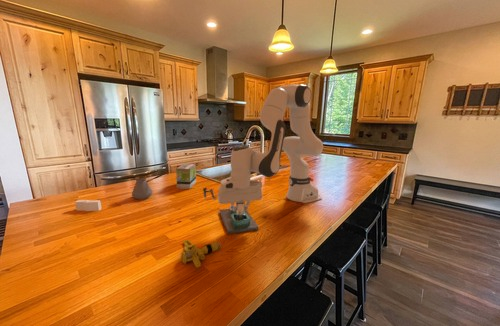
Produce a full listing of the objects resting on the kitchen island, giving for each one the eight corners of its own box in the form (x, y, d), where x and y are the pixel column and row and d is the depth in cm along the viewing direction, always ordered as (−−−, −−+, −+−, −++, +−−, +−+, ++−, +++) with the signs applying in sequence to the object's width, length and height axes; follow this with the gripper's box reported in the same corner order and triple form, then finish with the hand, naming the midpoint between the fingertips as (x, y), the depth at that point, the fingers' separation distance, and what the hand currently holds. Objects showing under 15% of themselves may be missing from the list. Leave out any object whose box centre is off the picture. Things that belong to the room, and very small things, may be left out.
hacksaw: (203, 189, 144) (203, 187, 144) (218, 188, 147) (218, 186, 146) (204, 203, 121) (204, 200, 121) (222, 201, 124) (222, 199, 124)
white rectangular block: (108, 209, 111) (106, 199, 110) (83, 217, 101) (81, 207, 100) (94, 203, 118) (92, 194, 117) (69, 210, 108) (68, 200, 107)
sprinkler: (230, 248, 72) (188, 264, 64) (230, 258, 73) (189, 276, 64) (206, 230, 88) (171, 241, 79) (207, 239, 88) (171, 251, 80)
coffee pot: (130, 201, 120) (127, 177, 116) (133, 195, 130) (131, 172, 127) (169, 197, 127) (167, 174, 124) (169, 191, 138) (168, 169, 134)
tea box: (190, 189, 143) (189, 168, 140) (176, 188, 143) (175, 168, 140) (196, 182, 158) (195, 163, 154) (183, 182, 158) (182, 163, 155)
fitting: (242, 216, 98) (243, 197, 96) (245, 220, 94) (245, 200, 92) (234, 217, 97) (235, 198, 94) (237, 221, 93) (237, 201, 91)
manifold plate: (244, 209, 113) (244, 201, 112) (258, 229, 93) (258, 220, 92) (219, 212, 109) (219, 204, 108) (228, 234, 88) (228, 225, 87)
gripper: (259, 177, 98) (258, 204, 101) (217, 181, 91) (217, 209, 94) (264, 181, 92) (263, 210, 95) (219, 185, 85) (219, 215, 88)
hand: (240, 210), depth 94 cm, fingers closed on fitting, 4 cm apart
